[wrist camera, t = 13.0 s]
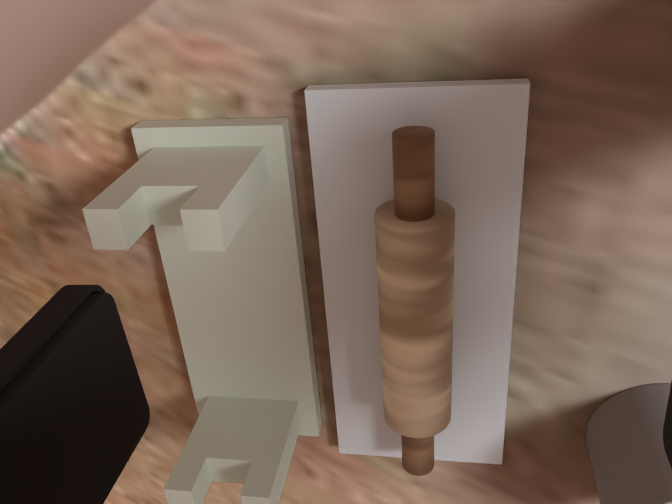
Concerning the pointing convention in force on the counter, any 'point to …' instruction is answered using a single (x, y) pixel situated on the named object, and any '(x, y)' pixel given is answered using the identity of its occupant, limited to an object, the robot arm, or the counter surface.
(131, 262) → the counter surface
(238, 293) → the pin stand
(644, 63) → the counter surface
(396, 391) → the rolling pin
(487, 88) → the pastry board
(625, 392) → the coffee mug
